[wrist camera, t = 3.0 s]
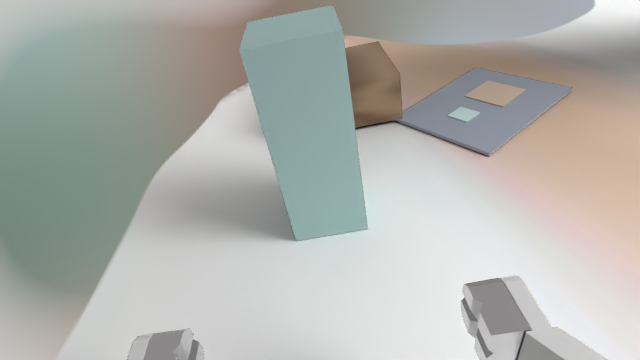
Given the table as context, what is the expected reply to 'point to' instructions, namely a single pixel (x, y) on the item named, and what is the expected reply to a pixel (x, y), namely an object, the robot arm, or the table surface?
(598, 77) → the table surface
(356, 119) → the base block
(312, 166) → the pillar
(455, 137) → the blueprint tile
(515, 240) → the table surface
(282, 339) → the table surface
